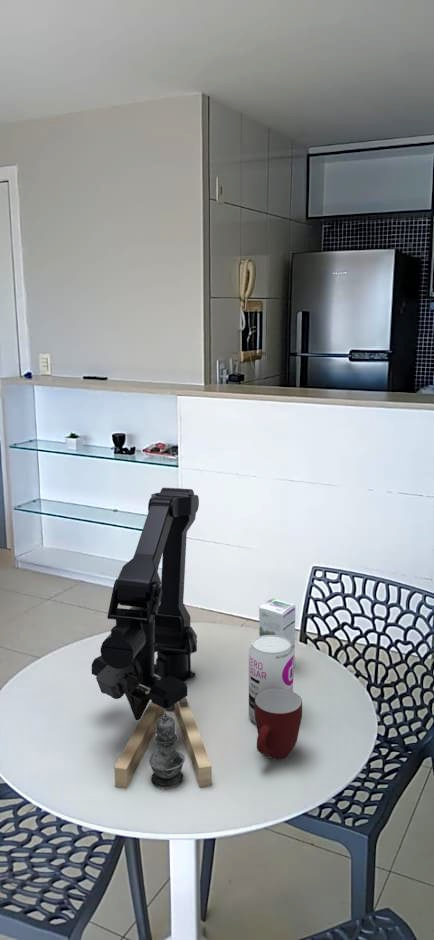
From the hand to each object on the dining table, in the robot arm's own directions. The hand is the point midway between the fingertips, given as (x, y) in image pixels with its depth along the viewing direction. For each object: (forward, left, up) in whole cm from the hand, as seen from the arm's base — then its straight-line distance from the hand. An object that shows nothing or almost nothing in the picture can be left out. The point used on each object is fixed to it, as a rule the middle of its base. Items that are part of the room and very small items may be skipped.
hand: (138, 719), depth 133 cm
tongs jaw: (+3, +5, -2) cm, 6 cm away
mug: (-12, +23, -2) cm, 26 cm away
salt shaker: (+5, +15, -2) cm, 16 cm away
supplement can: (-20, +14, -2) cm, 25 cm away
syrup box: (-34, +2, -2) cm, 34 cm away
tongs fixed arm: (-4, +9, -2) cm, 10 cm away
